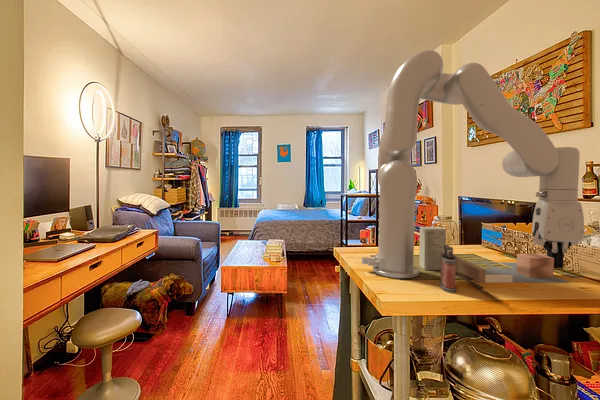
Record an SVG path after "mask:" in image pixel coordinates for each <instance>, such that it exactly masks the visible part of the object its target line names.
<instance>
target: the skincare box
mask: <svg viewBox="0 0 600 400" xmlns="http://www.w3.org/2000/svg"><path fill="white" fill-rule="evenodd" d="M446 242H447V229H446V228H443V227H440V226H419V249H418V250H419V253H418V254H419V255H418V256H419V261H418V266H419V267H420V268H421V269H423V270H424V271H441V259H440V254H441V253H444V245H447V243H446Z"/></svg>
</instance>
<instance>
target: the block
mask: <svg viewBox="0 0 600 400" xmlns="http://www.w3.org/2000/svg"><path fill="white" fill-rule="evenodd" d="M516 255H517V256H516V262H517V273H520V274H522V275H524V276H527V277H529V278H553V276H554V271H555V270H554V269H555V268H554V258H552V257H549V256H547V254H542V253H517V254H516Z"/></svg>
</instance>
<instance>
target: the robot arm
mask: <svg viewBox="0 0 600 400" xmlns="http://www.w3.org/2000/svg"><path fill="white" fill-rule="evenodd" d="M420 100H425V101H429V102H435V103H441V104H444V105H445V104H446V105H462V106H463V107H464V109H465V110H466V112H467V113H468V115H469V116H470V118H471V120H473V122H474V124H475V125H476V127H478V128H479V129H481V130H482V131H484V132H488V133H491V134H493V135H496V136H498V137H499V138H500V139H502V140H503V141H505V142H506V143H507V144H508V145H509V146H510V147H511V148H512V151H510V152H508V153H507V154H506V155H505V156H504V157H503V160H502V162H501V165H502V169H503V171H504V172H505V173H506V174H508V175H509V176H512V177H517V178H530V177H531V178H533V177H539V188H538V191H537V192H536V193H535V197H536V198H538V200H537V201H536V203H535V207H534V210H533V214H532V225H531V234H532V237H533V241H532V242H533V244H535V245H538V246H542V248H543V249H544V251H546V256H549V257H552V258H554V269H563V268H564V260H565V257H564V256H565V254H566V253H567V252H568V249H569V248H570V247H571V246H575V245H578V244H579V243H580V242H582V241H583V240H584V238H585V218H584V216H585V215H584V210H583V209H584V208H583V205H582V202H581V201H579V200H578V199H579V178H580V175H579V174H580V150H579V149H578V148H577V147H574V146H573V147H572V146H570V147H569V146H559V147H556V146H555V145H554V143H553V142H552V141H551V139H550V138H549V136H548V135H547V133H546V132H545V131H544V129H543V128H542V127H541V126H540V125H539V124H538V123H536V122H535V121H534V120H533V119H531V118H530V117H528V116H527V115H525V114H524V113H522V112H521V111H519V110H518V109H516V108H514V107H513V106H512V104H511V103H510V102H509V100H508V99H507V98H506V96H505V95H504V93H503V92H502V91H501V90H500V88H499V87H498V84H497V83H496V82H495V81H494V79H493V78H492V76H491V74H490V73H489V72H488V70H487V69H486V68H485V66H484V65H482V64H480V63H478V62H469V63H466V64H463V65H462V66H460V67H459V68H458V69H457V70H455V71H454V73H445V72H444V61H443V58H442V56H441V55H440V53H438V52H437V51H435V50H432V49H427V50H423V51H419V52H417V53H415V54H413V55H412V56H410V57H409V58H407V60H405V62H403V64H401V66H400V67H399V68H398V69H397V71H396V72H395V74H394V76H393V78H392V79H391V82H390V85H389V89H388V92H387V97H386V108H385V116H384V117H385V118H384V126H383V133H382V134H381V135H380V136H381V137H380V140H379V147H378V160H377V162H378V163H377V164H378V165H377V183H378V185H379V202H378V205H379V206H378V207H379V208H378V253H375V256H374V255H373V256H372V257H367V256H366V257H364V256H363V257H361V265H367V266H371V267H372V271H373V272H374V273H375V274H377V275H378V276H379V275H380V276H383V277H388V278H393V279H411V278H416V277H418V276H419V275H420V269H419V268H418V267H416V266H415V265H414V261H415V260H414V258H415V257H414V255H415V253H414V252H415V248H414V247H415V212H416V211H415V209H416V197H417V195H416V194H417V187H418V176H417V172H416V169H415V168H414V166H413V165H411V158H412V157H411V155H412V151H413V150H414V149H415V147H416V144H417V141H418V118H419V116H418V115H419V106H420Z"/></svg>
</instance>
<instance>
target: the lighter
mask: <svg viewBox="0 0 600 400" xmlns="http://www.w3.org/2000/svg"><path fill="white" fill-rule="evenodd" d="M454 255H455V254H454V247H453V246H450V245H449V244H446V245H444V253H441V254H440V259H441V270H440V279H439V287H440V289H442V290H443V292H446V293H450V294H454V293H457V285H456V280H457V279H456V278H457V277H456V276H457V275H456V273H457V271H458V270H457V267H456V264H457V258H456V257H455V256H456V255H455V256H454Z"/></svg>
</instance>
